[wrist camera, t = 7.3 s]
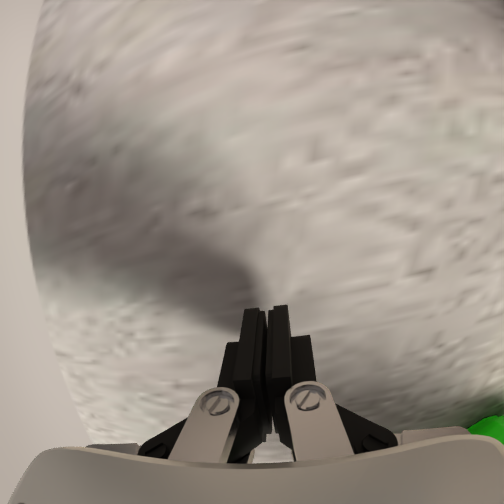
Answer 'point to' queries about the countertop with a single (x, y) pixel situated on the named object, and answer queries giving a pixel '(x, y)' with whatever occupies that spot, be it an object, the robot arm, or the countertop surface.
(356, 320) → the countertop surface
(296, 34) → the countertop surface
